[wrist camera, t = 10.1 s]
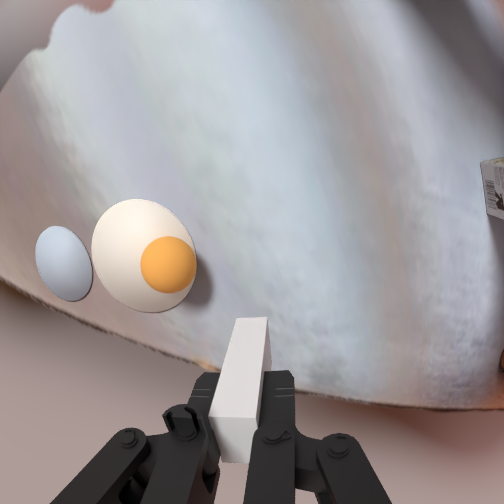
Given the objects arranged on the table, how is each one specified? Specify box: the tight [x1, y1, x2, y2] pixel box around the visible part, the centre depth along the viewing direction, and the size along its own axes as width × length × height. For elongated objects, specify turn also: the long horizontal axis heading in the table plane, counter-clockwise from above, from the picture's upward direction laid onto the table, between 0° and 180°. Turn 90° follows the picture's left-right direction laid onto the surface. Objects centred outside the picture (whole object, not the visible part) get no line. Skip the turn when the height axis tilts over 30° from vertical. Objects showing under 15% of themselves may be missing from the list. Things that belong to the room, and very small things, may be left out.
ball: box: [140, 236, 197, 293], centre depth 29 cm, size 6×6×6 cm
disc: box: [92, 199, 197, 312], centre depth 32 cm, size 13×13×1 cm
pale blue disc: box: [36, 226, 92, 301], centre depth 34 cm, size 10×10×1 cm
